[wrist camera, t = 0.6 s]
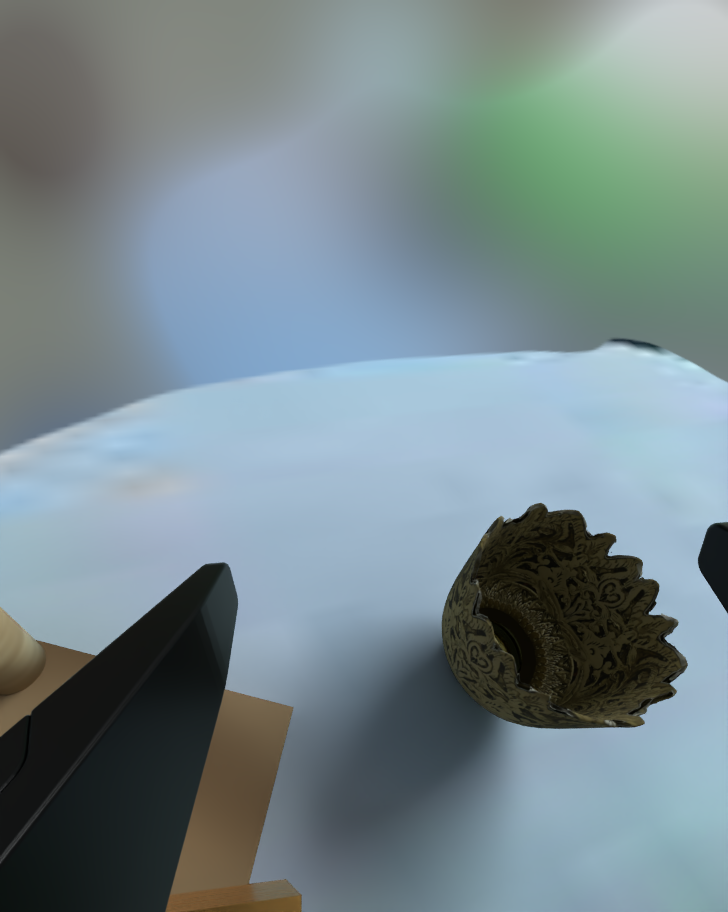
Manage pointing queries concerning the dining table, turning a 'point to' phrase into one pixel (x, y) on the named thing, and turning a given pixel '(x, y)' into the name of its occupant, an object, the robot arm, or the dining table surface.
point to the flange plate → (239, 899)
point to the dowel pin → (18, 656)
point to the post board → (223, 779)
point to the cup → (558, 627)
